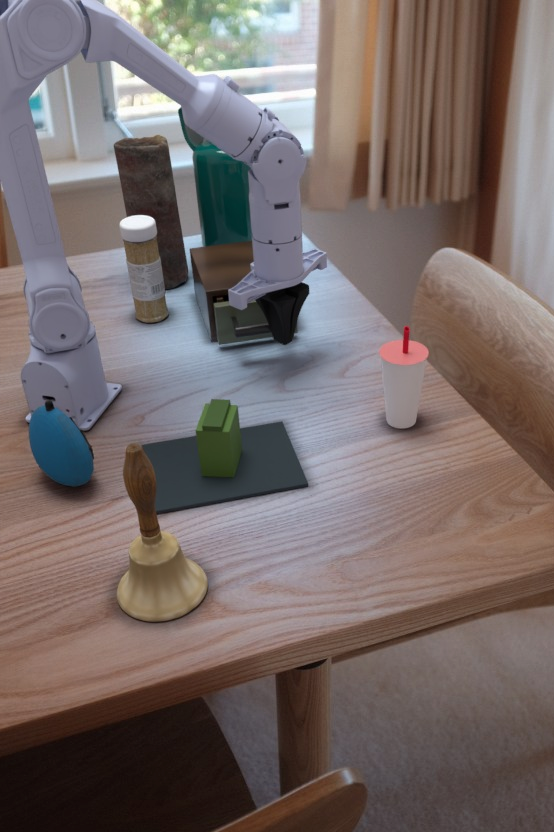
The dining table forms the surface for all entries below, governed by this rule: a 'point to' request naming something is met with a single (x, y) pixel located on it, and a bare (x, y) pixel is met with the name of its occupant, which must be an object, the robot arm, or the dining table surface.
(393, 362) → the cup
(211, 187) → the pitcher
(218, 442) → the green stepped block
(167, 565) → the hand bell
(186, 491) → the mat
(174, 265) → the candle
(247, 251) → the cabinet
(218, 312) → the drawer
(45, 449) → the ornament
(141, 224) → the sprinkles bottle
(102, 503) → the dining table surface
